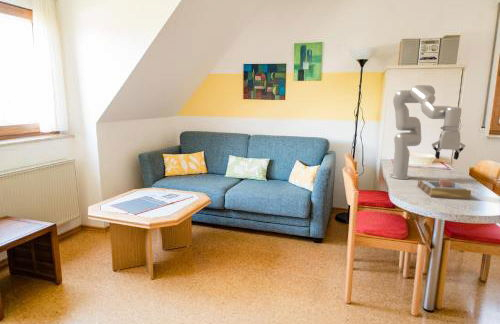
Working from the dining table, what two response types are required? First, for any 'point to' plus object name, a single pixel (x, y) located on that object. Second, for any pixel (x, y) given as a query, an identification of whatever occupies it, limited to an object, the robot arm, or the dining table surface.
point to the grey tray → (436, 185)
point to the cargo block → (445, 183)
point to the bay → (444, 192)
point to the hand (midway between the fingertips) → (446, 158)
